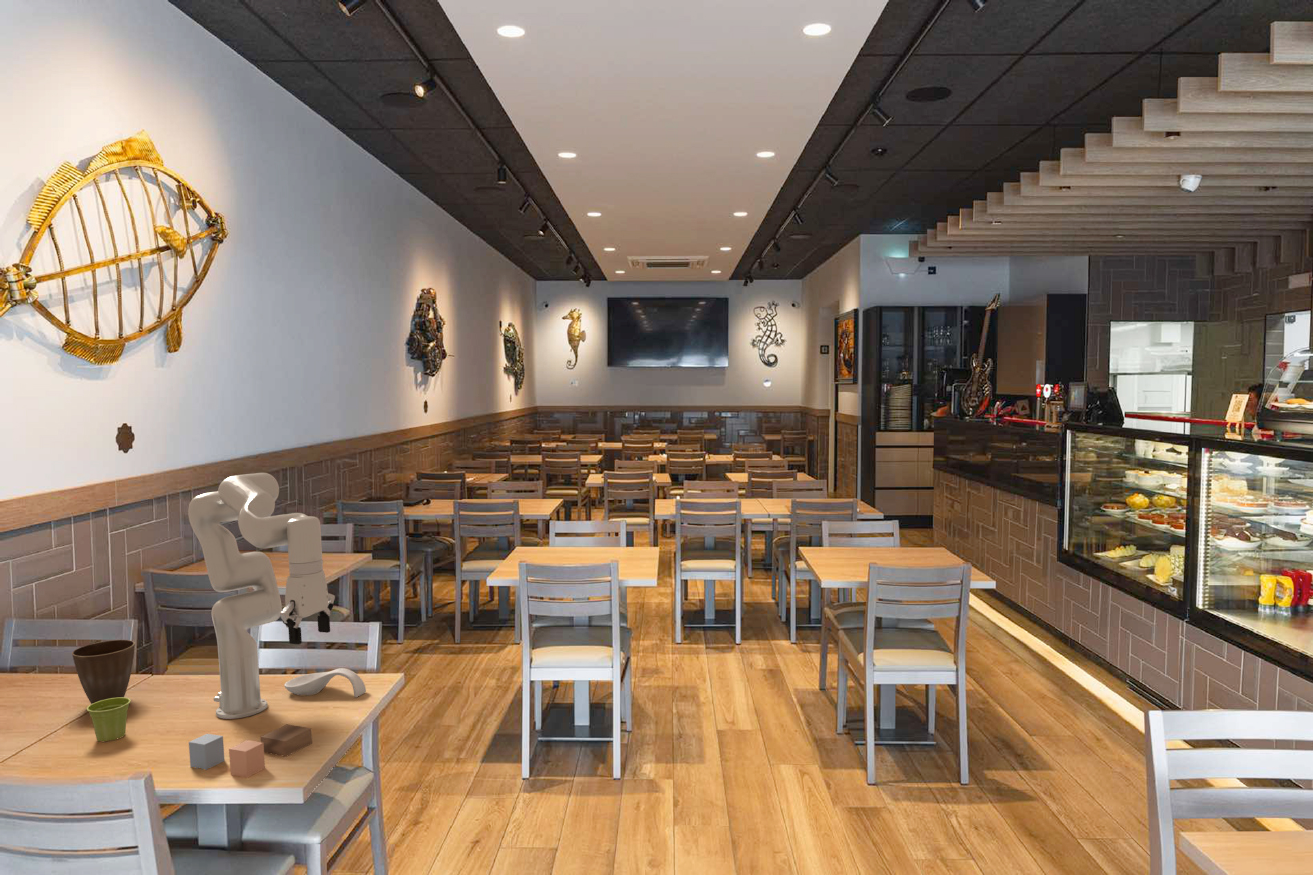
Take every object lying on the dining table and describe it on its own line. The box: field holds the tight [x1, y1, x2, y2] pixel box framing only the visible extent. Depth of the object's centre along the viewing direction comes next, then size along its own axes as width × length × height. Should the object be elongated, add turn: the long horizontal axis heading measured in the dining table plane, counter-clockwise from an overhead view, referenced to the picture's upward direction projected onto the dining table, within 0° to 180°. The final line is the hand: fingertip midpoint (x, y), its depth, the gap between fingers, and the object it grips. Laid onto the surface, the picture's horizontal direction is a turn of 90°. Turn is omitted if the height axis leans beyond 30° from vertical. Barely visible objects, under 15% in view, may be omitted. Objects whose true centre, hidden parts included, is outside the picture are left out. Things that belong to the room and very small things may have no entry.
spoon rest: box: [284, 667, 367, 698], centre depth 246 cm, size 24×12×7 cm, turn 76°
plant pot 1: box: [71, 639, 136, 705], centre depth 243 cm, size 15×15×16 cm
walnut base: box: [260, 724, 313, 757], centre depth 208 cm, size 8×8×4 cm
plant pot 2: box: [86, 696, 132, 742], centre depth 218 cm, size 9×9×9 cm
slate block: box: [188, 733, 226, 771], centre depth 200 cm, size 5×5×6 cm
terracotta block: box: [228, 739, 266, 779], centre depth 195 cm, size 5×5×6 cm
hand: (310, 637), depth 209 cm, fingers open, 9 cm apart
